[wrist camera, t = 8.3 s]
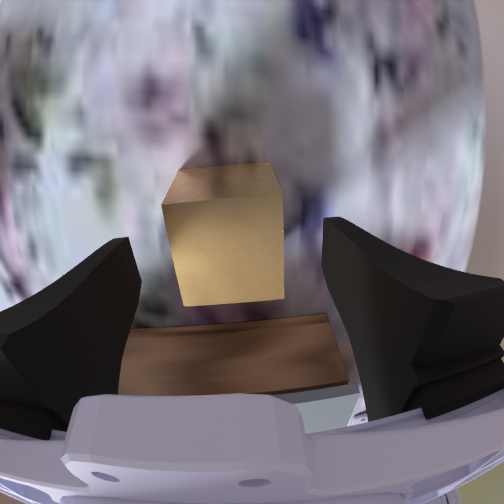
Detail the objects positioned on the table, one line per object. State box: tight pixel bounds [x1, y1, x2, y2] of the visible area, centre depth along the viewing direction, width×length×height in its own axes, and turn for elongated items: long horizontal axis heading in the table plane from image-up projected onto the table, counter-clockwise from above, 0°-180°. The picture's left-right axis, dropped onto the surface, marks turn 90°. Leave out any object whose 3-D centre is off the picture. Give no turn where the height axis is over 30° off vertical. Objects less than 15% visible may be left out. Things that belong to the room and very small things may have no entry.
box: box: [118, 313, 349, 396], centre depth 19 cm, size 14×12×5 cm
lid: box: [271, 383, 360, 434], centre depth 17 cm, size 14×12×1 cm
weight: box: [162, 162, 284, 307], centre depth 13 cm, size 4×4×4 cm
